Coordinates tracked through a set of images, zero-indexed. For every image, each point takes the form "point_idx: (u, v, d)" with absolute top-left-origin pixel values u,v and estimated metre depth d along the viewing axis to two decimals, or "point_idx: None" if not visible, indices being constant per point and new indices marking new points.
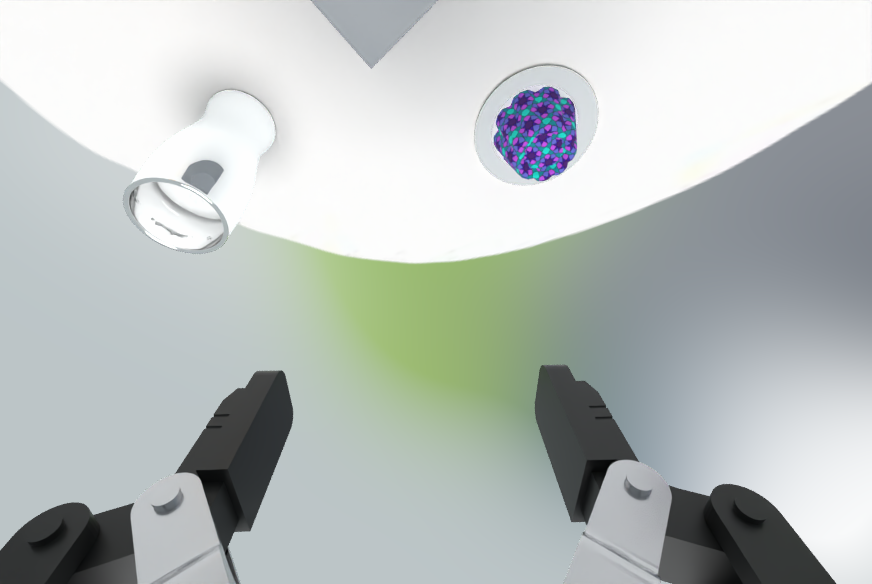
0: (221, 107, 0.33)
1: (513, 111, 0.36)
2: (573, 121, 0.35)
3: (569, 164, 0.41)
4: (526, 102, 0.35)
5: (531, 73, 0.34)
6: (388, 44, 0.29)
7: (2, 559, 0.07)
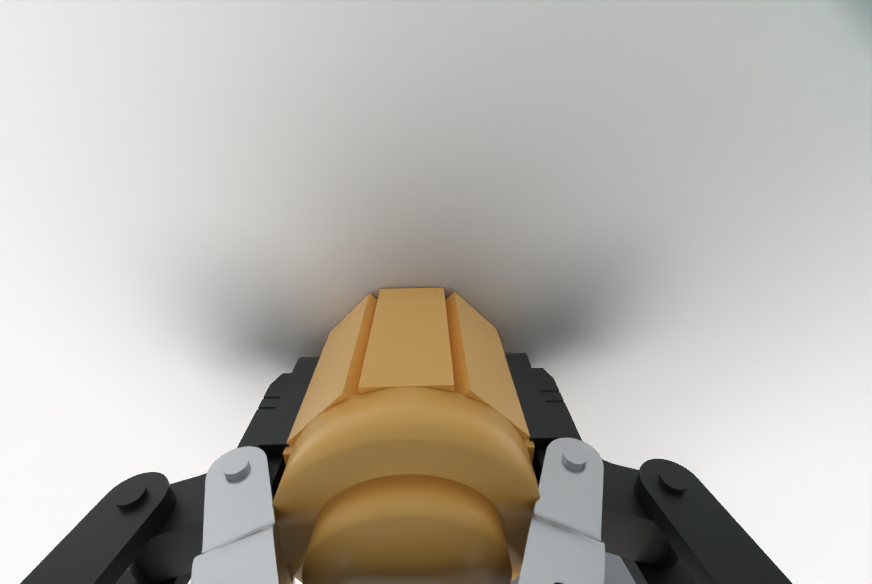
0: None
1: None
2: None
3: None
4: None
5: None
6: None
7: (94, 515, 0.07)
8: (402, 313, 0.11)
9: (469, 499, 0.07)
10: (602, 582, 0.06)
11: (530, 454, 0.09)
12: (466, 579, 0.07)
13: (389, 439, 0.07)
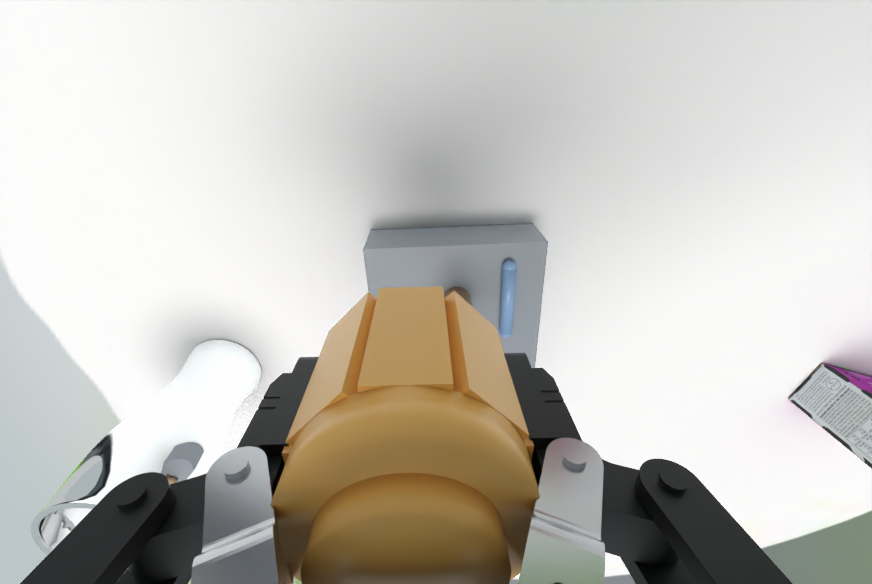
0: (224, 370, 0.31)
1: None
2: None
3: None
4: None
5: None
6: None
7: (95, 515, 0.07)
8: (401, 312, 0.11)
9: (468, 498, 0.07)
10: (602, 582, 0.06)
11: (529, 453, 0.09)
12: (465, 578, 0.07)
13: (388, 438, 0.07)
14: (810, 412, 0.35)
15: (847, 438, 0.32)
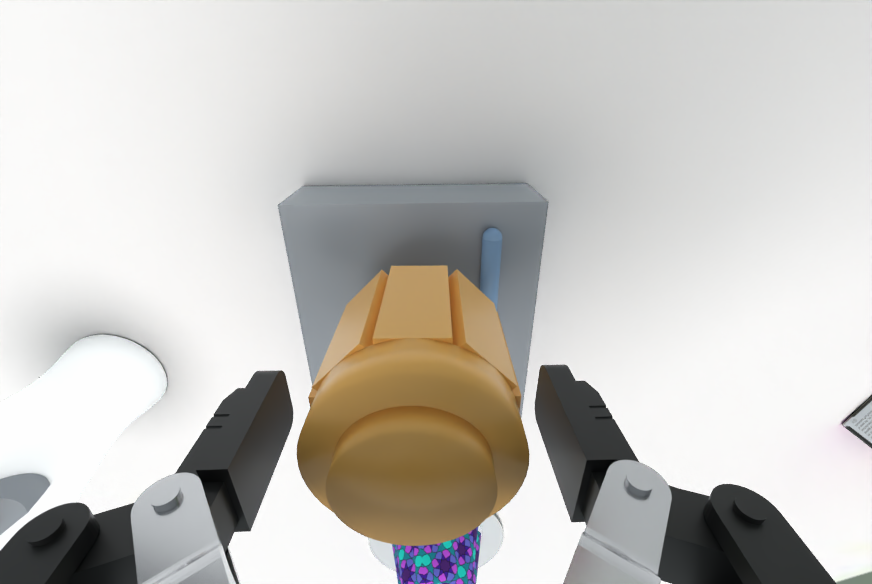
0: (101, 376, 0.22)
1: None
2: (476, 574, 0.32)
3: None
4: None
5: None
6: None
7: (2, 559, 0.07)
8: (410, 285, 0.12)
9: (462, 427, 0.09)
10: None
11: (517, 402, 0.11)
12: (459, 495, 0.09)
13: (397, 374, 0.09)
14: None
15: None
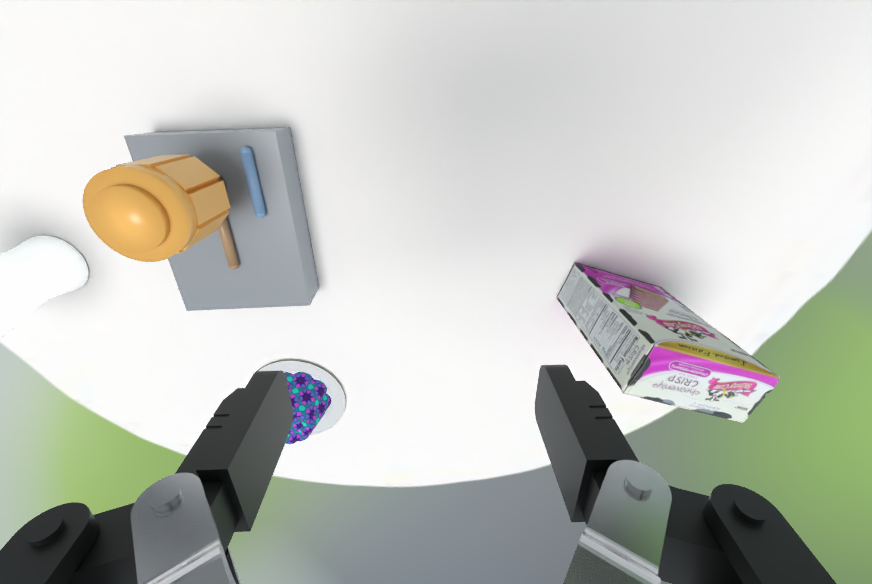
0: (39, 254, 0.36)
1: (291, 380, 0.46)
2: (319, 417, 0.46)
3: None
4: (301, 383, 0.46)
5: (318, 369, 0.47)
6: (208, 306, 0.38)
7: (2, 559, 0.07)
8: (158, 158, 0.26)
9: (142, 191, 0.23)
10: None
11: (189, 197, 0.25)
12: (146, 221, 0.23)
13: (113, 169, 0.23)
14: (563, 304, 0.42)
15: (575, 316, 0.39)
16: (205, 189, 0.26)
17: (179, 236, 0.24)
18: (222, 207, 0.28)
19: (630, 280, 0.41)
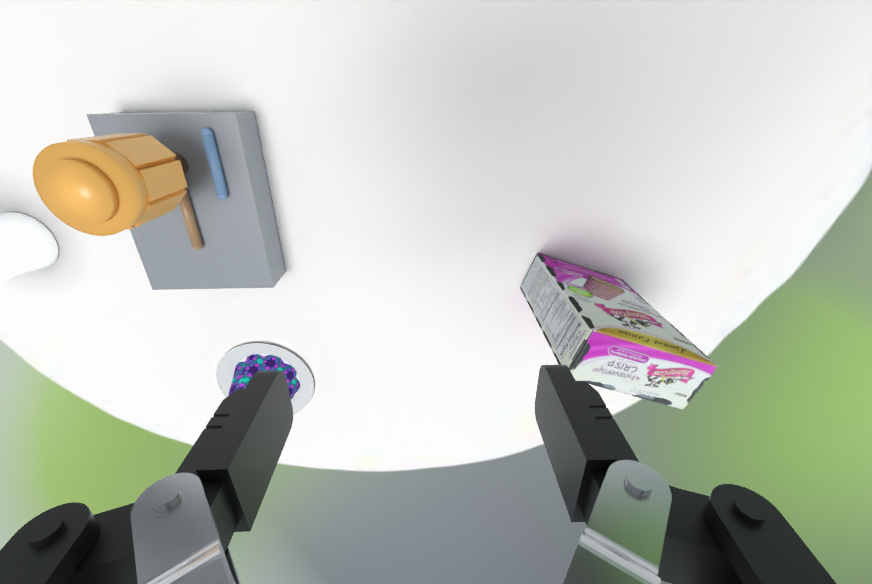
0: (7, 230, 0.37)
1: (261, 362, 0.47)
2: None
3: None
4: (271, 366, 0.47)
5: (288, 353, 0.47)
6: (174, 286, 0.39)
7: (2, 559, 0.07)
8: (113, 135, 0.27)
9: (90, 165, 0.24)
10: None
11: (140, 174, 0.25)
12: (93, 194, 0.24)
13: (61, 143, 0.23)
14: (525, 293, 0.42)
15: (533, 305, 0.39)
16: (158, 167, 0.27)
17: (128, 211, 0.25)
18: (178, 186, 0.29)
19: (591, 271, 0.42)
